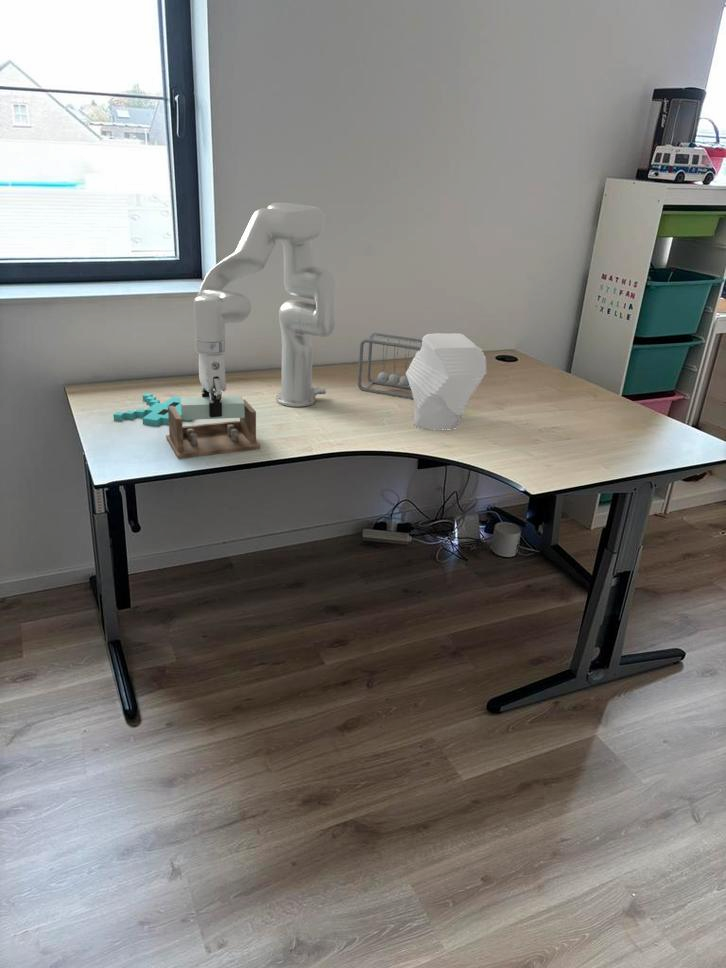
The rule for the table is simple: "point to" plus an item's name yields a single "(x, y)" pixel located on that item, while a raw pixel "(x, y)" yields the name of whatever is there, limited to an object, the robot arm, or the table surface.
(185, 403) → the plank
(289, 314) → the robot arm
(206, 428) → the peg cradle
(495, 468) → the table surface
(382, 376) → the newton's cradle
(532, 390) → the table surface
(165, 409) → the alien figure
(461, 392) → the white angular block
